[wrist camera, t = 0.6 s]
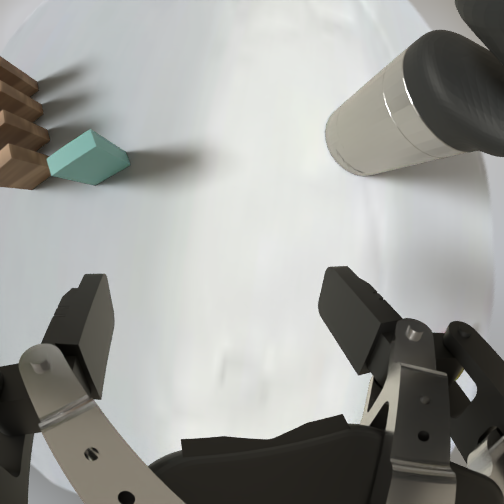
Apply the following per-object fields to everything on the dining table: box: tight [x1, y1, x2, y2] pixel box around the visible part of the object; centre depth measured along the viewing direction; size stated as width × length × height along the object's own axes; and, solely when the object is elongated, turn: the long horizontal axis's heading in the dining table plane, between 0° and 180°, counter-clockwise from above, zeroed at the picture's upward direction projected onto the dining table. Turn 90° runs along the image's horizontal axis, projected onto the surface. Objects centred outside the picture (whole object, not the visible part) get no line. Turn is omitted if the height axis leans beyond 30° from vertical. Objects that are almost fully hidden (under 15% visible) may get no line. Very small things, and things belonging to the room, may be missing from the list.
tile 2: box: [0, 143, 51, 190], centre depth 25 cm, size 2×5×10 cm, turn 115°
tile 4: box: [0, 80, 43, 123], centre depth 24 cm, size 2×5×10 cm, turn 115°
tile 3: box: [0, 110, 50, 152], centre depth 24 cm, size 2×5×10 cm, turn 114°
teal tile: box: [47, 129, 131, 185], centre depth 26 cm, size 2×5×10 cm, turn 115°
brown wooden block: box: [0, 56, 39, 97], centre depth 23 cm, size 2×5×10 cm, turn 114°
